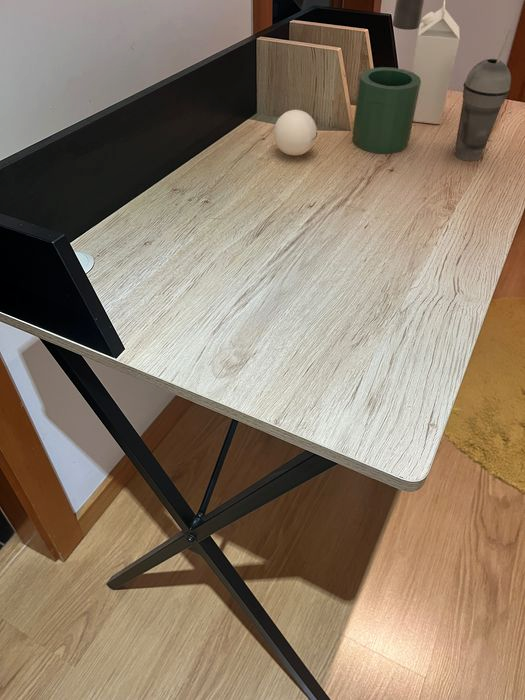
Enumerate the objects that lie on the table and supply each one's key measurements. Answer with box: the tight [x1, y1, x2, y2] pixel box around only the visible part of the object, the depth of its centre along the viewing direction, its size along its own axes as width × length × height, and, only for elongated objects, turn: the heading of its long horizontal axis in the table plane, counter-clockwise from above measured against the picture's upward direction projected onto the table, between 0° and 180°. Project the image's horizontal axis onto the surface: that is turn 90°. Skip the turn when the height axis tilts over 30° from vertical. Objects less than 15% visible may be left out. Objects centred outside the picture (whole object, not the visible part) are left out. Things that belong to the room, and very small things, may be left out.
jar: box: [351, 66, 421, 155], centre depth 99 cm, size 10×10×11 cm
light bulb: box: [273, 109, 318, 157], centre depth 98 cm, size 10×7×7 cm
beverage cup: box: [454, 29, 513, 162], centre depth 93 cm, size 7×7×20 cm
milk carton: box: [410, 0, 461, 125], centre depth 105 cm, size 7×7×19 cm
